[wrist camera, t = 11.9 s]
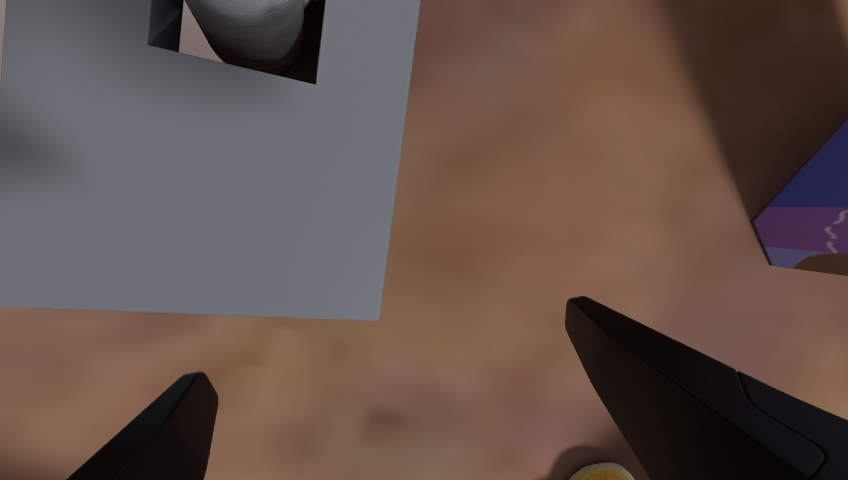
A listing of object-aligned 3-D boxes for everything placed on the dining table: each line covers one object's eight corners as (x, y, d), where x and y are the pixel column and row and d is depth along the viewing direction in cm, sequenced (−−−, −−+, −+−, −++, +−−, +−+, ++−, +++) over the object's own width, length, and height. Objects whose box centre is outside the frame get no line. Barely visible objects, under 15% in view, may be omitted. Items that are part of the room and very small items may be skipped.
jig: (366, 301, 21) (378, 320, 18) (48, 284, 16) (-15, 306, 13) (413, -69, 20) (436, -124, 16) (86, -200, 15) (27, -311, 12)
